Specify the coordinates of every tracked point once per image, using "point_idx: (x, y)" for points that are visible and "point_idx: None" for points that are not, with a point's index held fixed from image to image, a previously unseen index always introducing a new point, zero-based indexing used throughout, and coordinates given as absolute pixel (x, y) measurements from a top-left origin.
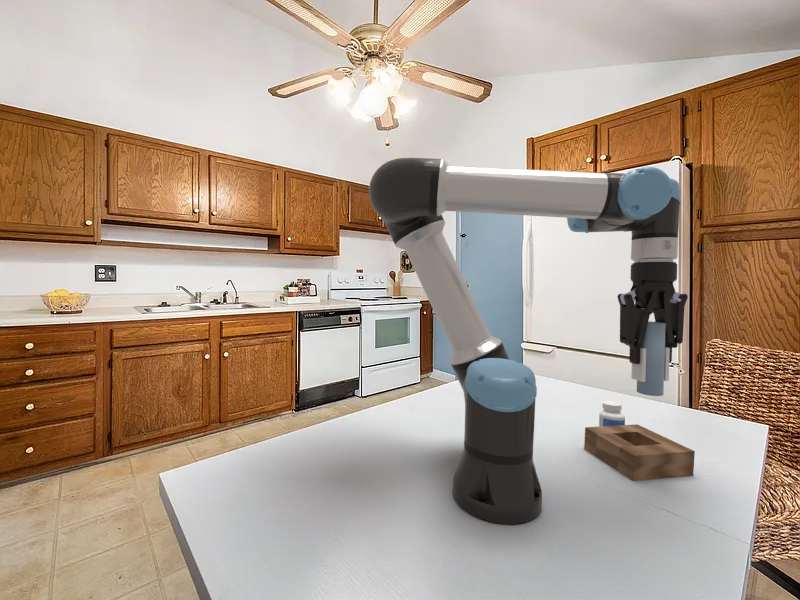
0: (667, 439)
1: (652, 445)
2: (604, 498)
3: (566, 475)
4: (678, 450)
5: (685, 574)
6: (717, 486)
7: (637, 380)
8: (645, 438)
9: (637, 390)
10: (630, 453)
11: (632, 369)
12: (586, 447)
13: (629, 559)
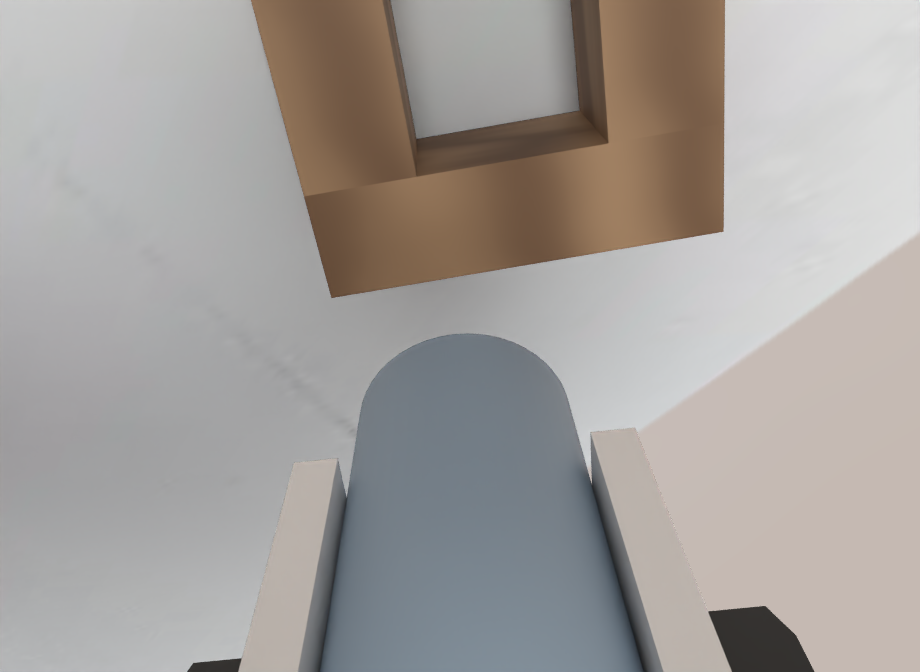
0: (706, 71)
1: (529, 168)
2: (147, 371)
3: (30, 205)
4: (634, 227)
5: (221, 635)
6: (700, 274)
7: (350, 475)
8: (596, 9)
9: (360, 416)
10: (325, 272)
11: (276, 549)
12: None
13: (104, 605)
